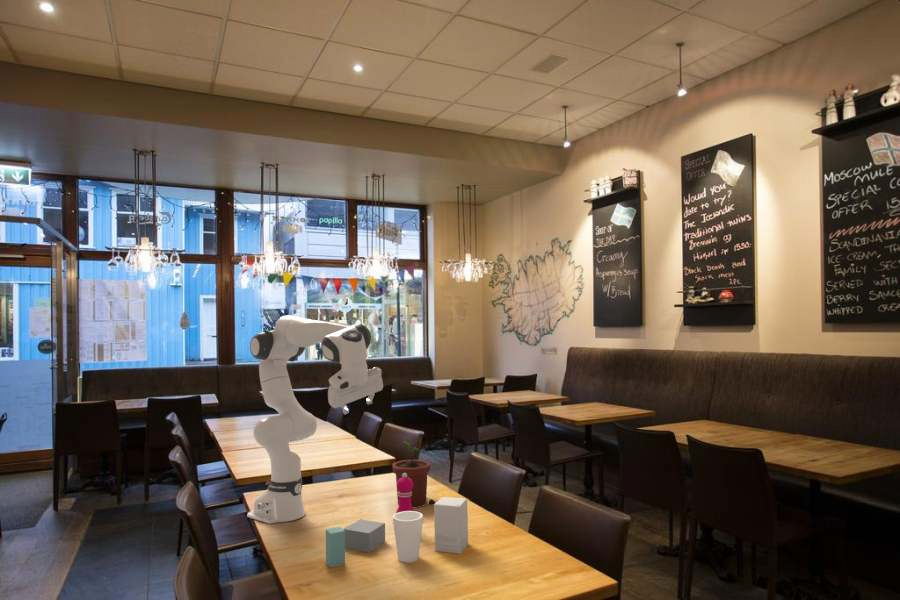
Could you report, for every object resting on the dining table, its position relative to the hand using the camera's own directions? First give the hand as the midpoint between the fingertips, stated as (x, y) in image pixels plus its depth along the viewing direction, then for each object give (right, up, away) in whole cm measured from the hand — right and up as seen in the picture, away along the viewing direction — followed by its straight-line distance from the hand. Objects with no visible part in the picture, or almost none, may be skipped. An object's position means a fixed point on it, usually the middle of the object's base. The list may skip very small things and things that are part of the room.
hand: (357, 408), depth 199 cm
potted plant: (+19, -45, +33) cm, 59 cm away
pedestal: (+4, -43, -12) cm, 45 cm away
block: (-3, -43, -27) cm, 50 cm away
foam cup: (+20, -43, -24) cm, 53 cm away
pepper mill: (+17, -44, +1) cm, 47 cm away
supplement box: (+33, -43, -16) cm, 57 cm away
